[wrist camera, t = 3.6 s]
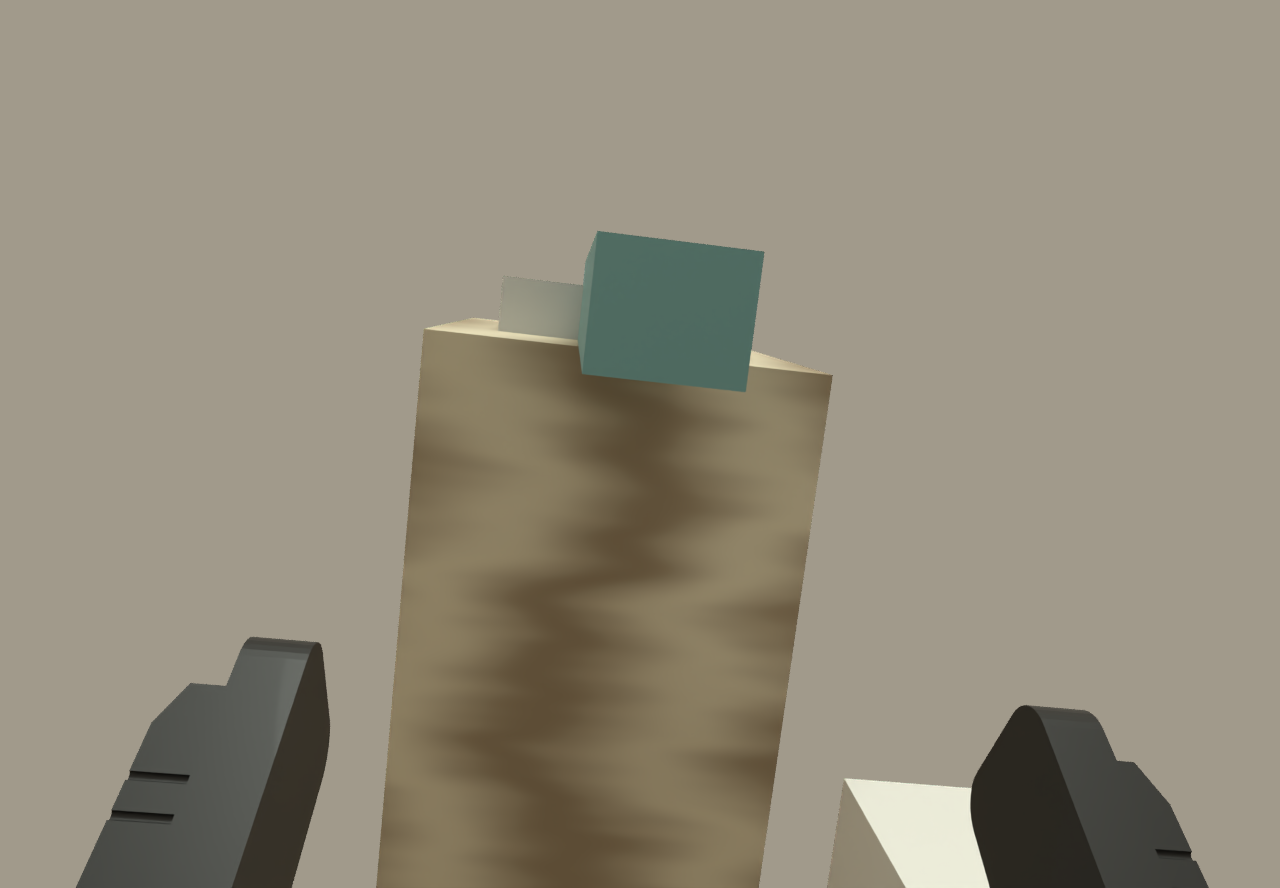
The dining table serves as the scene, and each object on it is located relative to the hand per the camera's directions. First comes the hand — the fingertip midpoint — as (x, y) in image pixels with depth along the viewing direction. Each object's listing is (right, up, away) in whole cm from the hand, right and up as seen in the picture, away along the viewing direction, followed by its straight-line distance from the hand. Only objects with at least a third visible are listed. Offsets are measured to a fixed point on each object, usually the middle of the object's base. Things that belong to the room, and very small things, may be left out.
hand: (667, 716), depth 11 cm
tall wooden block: (-5, -25, +23) cm, 34 cm away
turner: (-1, +6, +14) cm, 15 cm away
